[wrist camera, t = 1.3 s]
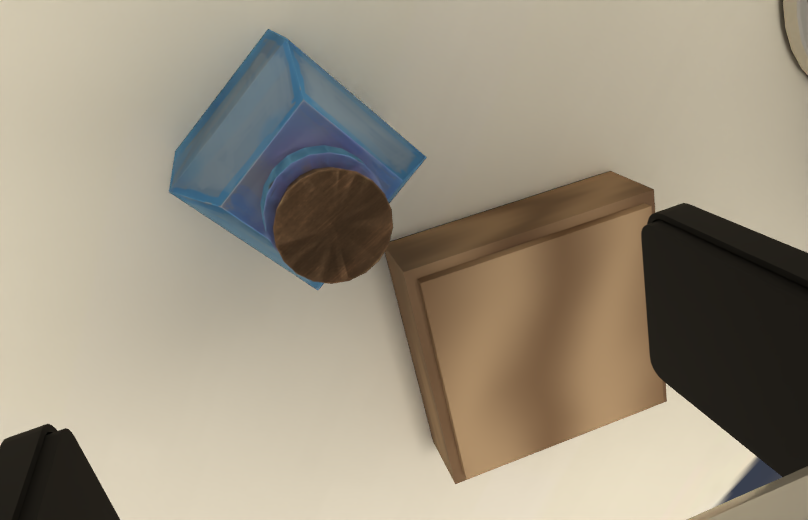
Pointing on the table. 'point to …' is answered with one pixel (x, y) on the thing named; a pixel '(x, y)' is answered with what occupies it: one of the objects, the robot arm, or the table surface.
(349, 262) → the perfume bottle
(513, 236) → the pedestal
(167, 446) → the table surface
